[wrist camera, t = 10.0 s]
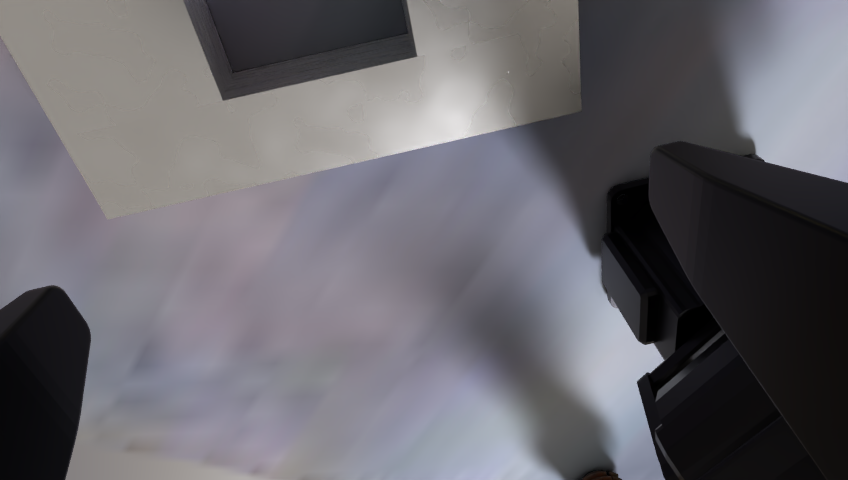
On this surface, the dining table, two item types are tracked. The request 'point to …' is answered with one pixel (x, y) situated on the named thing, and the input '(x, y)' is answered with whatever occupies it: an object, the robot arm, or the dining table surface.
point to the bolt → (601, 476)
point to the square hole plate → (278, 91)
